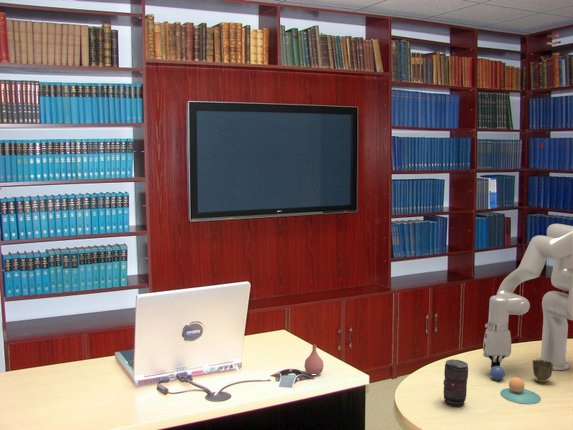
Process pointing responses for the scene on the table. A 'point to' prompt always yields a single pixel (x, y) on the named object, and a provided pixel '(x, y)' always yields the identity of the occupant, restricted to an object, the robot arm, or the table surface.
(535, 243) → the robot arm
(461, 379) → the camera lens
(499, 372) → the blue ball
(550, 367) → the cup
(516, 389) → the object ball
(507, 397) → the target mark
